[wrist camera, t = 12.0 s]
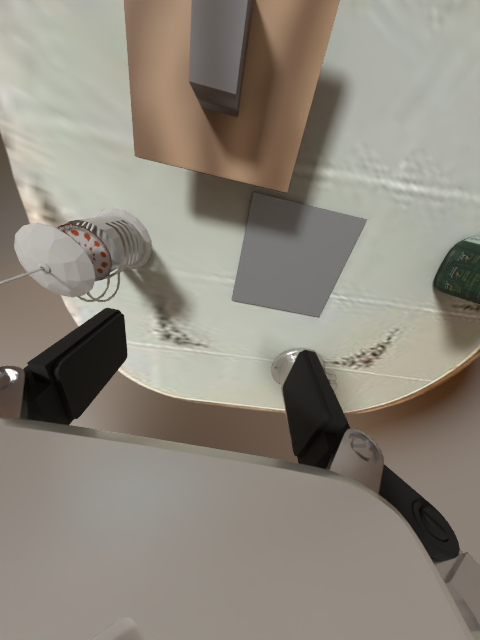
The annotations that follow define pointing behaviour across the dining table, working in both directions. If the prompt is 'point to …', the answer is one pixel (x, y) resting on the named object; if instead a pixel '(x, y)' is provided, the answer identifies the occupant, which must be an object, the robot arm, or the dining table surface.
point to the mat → (293, 254)
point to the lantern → (82, 252)
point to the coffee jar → (461, 271)
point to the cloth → (225, 83)
